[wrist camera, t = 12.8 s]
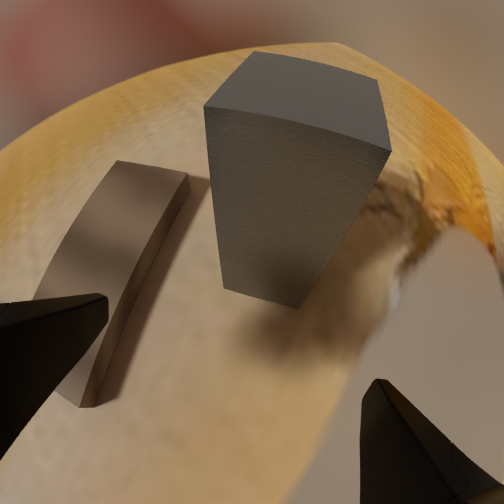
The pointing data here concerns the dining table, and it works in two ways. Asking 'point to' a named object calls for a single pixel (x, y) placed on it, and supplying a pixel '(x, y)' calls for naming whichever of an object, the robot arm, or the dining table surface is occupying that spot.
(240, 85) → the grey rectangular block
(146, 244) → the walnut body
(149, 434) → the dining table surface
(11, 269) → the dining table surface
